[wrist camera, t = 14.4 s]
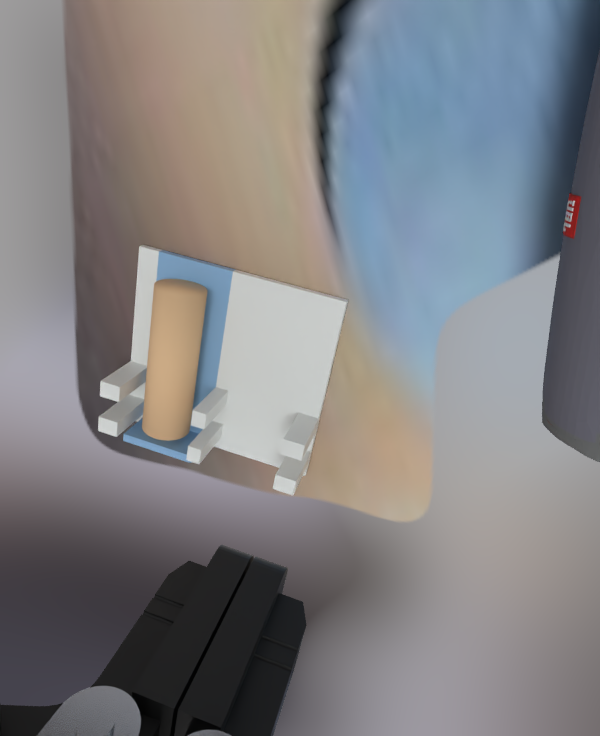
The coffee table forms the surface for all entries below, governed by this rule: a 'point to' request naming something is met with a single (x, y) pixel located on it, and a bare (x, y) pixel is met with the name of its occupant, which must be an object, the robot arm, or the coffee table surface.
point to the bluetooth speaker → (578, 303)
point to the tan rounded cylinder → (173, 357)
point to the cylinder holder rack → (237, 367)
